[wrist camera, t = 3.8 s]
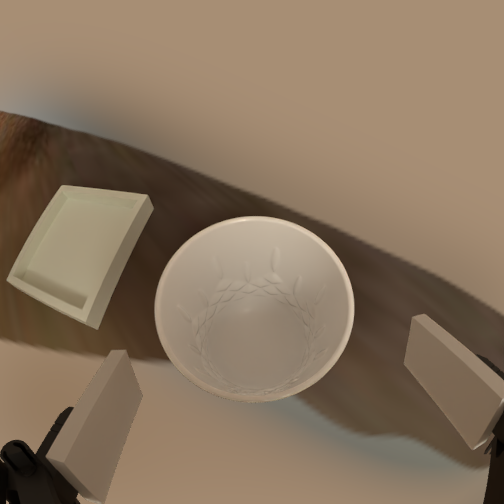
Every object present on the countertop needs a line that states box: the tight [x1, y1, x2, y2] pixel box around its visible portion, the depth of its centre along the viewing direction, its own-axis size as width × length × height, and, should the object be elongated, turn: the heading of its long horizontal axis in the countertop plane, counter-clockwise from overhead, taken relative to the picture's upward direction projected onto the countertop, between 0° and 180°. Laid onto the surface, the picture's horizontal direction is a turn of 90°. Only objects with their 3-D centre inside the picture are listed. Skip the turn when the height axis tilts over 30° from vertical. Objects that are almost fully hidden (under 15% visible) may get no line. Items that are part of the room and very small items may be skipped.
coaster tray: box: [6, 185, 154, 330], centre depth 23 cm, size 13×13×2 cm
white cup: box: [154, 216, 354, 403], centre depth 15 cm, size 8×8×10 cm
